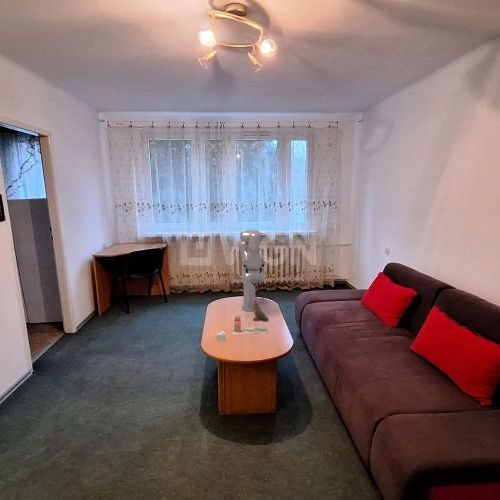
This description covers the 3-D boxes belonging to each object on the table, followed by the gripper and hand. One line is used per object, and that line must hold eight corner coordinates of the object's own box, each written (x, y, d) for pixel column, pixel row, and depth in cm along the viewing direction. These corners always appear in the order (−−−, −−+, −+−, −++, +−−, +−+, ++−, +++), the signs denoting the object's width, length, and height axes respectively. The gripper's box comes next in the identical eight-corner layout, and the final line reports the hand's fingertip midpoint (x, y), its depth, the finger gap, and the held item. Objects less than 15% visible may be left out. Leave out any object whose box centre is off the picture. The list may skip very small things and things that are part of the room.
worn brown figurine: (253, 325, 239) (248, 303, 235) (253, 322, 244) (248, 300, 240) (269, 321, 240) (264, 299, 235) (268, 318, 245) (263, 297, 241)
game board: (230, 329, 227) (230, 328, 227) (265, 326, 231) (265, 325, 231) (231, 336, 217) (231, 335, 216) (268, 333, 220) (268, 332, 220)
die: (217, 338, 213) (216, 331, 212) (224, 338, 214) (224, 331, 213) (217, 342, 209) (217, 335, 208) (225, 341, 209) (224, 334, 208)
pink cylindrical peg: (234, 329, 224) (234, 314, 222) (240, 329, 225) (240, 314, 223) (234, 332, 220) (234, 316, 218) (241, 332, 221) (241, 316, 218)
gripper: (264, 248, 236) (264, 271, 240) (241, 249, 234) (241, 272, 237) (266, 250, 229) (266, 274, 232) (242, 251, 227) (242, 275, 230)
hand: (253, 273), depth 235 cm, fingers open, 9 cm apart
